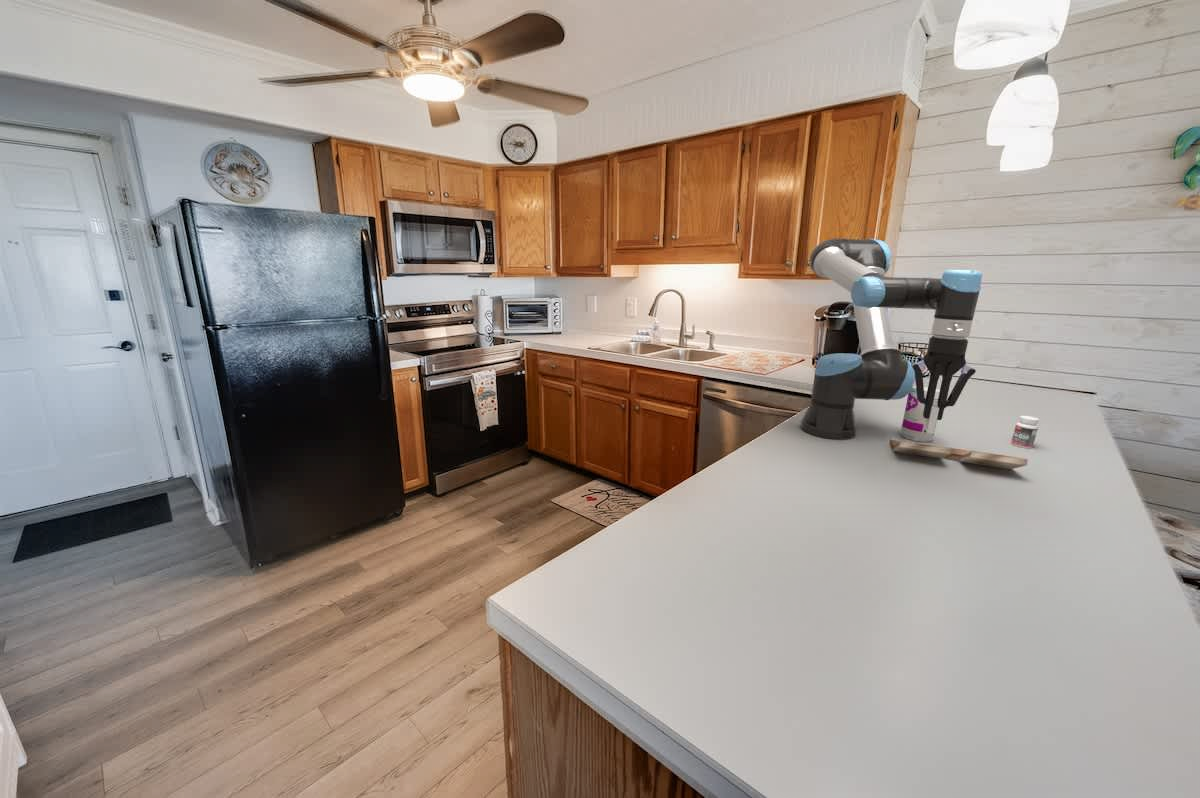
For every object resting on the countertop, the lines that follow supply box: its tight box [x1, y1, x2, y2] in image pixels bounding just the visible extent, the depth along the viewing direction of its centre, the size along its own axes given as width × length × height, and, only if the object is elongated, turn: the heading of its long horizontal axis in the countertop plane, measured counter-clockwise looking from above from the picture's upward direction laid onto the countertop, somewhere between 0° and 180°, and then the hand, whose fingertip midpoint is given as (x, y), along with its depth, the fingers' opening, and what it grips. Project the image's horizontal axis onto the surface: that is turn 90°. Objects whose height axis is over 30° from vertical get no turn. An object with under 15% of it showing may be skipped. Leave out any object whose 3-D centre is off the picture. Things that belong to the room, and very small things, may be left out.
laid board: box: [889, 439, 1005, 462], centre depth 128 cm, size 26×6×2 cm, turn 66°
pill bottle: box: [1010, 415, 1040, 449], centre depth 136 cm, size 5×5×8 cm
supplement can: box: [900, 385, 940, 443], centre depth 139 cm, size 8×8×15 cm
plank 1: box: [892, 440, 953, 459], centre depth 124 cm, size 11×8×2 cm
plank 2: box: [959, 450, 1029, 470], centre depth 118 cm, size 11×8×2 cm
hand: (929, 431), depth 120 cm, fingers closed
